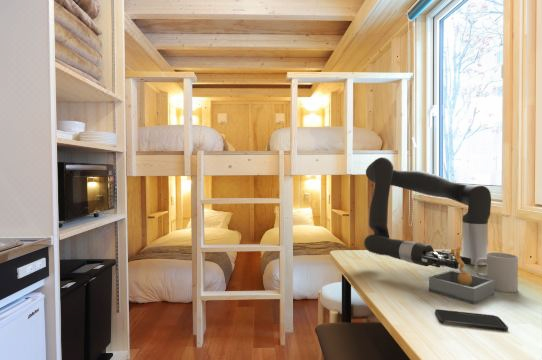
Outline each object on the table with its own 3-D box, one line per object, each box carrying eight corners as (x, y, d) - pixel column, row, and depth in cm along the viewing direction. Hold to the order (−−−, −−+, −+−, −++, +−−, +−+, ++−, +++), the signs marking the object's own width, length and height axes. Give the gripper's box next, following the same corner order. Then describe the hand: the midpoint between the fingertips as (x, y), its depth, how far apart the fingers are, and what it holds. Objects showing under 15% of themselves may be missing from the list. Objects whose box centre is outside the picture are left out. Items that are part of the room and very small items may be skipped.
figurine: (471, 290, 100) (472, 250, 100) (449, 286, 103) (450, 248, 103) (472, 282, 107) (473, 245, 107) (451, 279, 110) (451, 243, 110)
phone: (509, 328, 79) (440, 320, 83) (509, 333, 79) (440, 325, 83) (497, 315, 86) (434, 308, 91) (497, 319, 86) (434, 312, 91)
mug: (514, 286, 111) (514, 253, 111) (520, 294, 104) (521, 259, 104) (473, 281, 117) (473, 250, 116) (476, 288, 109) (476, 255, 109)
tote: (449, 283, 114) (449, 270, 114) (494, 294, 103) (494, 280, 103) (428, 291, 107) (428, 277, 107) (474, 304, 96) (474, 288, 95)
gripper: (404, 244, 113) (453, 254, 100) (427, 240, 121) (475, 248, 108) (404, 266, 113) (453, 279, 100) (426, 260, 122) (474, 271, 108)
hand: (464, 263), depth 104 cm, fingers closed on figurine, 7 cm apart
